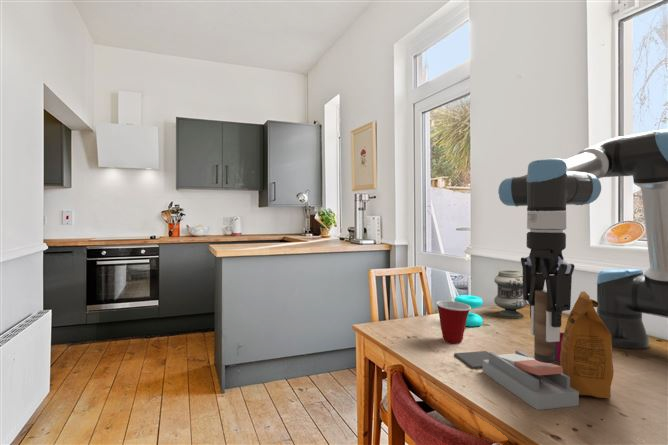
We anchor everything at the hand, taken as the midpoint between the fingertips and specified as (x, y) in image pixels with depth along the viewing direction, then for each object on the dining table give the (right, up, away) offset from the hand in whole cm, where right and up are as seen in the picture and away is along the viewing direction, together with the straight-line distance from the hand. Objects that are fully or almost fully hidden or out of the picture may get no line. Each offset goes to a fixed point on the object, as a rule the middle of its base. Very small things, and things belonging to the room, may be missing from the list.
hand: (544, 337), depth 84 cm
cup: (+20, -13, +22) cm, 33 cm away
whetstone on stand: (-1, -13, +6) cm, 15 cm away
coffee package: (+12, -14, +5) cm, 19 cm away
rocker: (-1, -9, +6) cm, 11 cm away
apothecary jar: (+25, -13, +71) cm, 76 cm away
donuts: (+4, -13, +59) cm, 60 cm away
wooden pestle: (0, -5, 0) cm, 5 cm away
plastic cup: (-8, -13, +40) cm, 42 cm away
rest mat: (-6, -13, +23) cm, 27 cm away
